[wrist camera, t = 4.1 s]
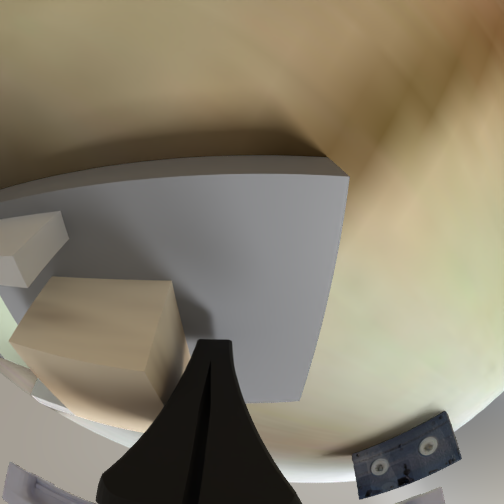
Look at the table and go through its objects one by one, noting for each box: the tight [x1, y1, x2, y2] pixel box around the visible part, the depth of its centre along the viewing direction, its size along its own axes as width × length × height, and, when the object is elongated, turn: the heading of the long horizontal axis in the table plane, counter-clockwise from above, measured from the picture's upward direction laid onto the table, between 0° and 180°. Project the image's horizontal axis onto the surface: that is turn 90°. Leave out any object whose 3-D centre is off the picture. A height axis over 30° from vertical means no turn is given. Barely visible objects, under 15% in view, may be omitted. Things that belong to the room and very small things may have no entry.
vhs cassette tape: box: [352, 411, 462, 499], centre depth 29 cm, size 18×3×10 cm, turn 131°
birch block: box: [9, 276, 191, 433], centre depth 10 cm, size 6×6×4 cm
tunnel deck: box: [0, 155, 350, 431], centre depth 11 cm, size 14×36×6 cm, turn 90°
